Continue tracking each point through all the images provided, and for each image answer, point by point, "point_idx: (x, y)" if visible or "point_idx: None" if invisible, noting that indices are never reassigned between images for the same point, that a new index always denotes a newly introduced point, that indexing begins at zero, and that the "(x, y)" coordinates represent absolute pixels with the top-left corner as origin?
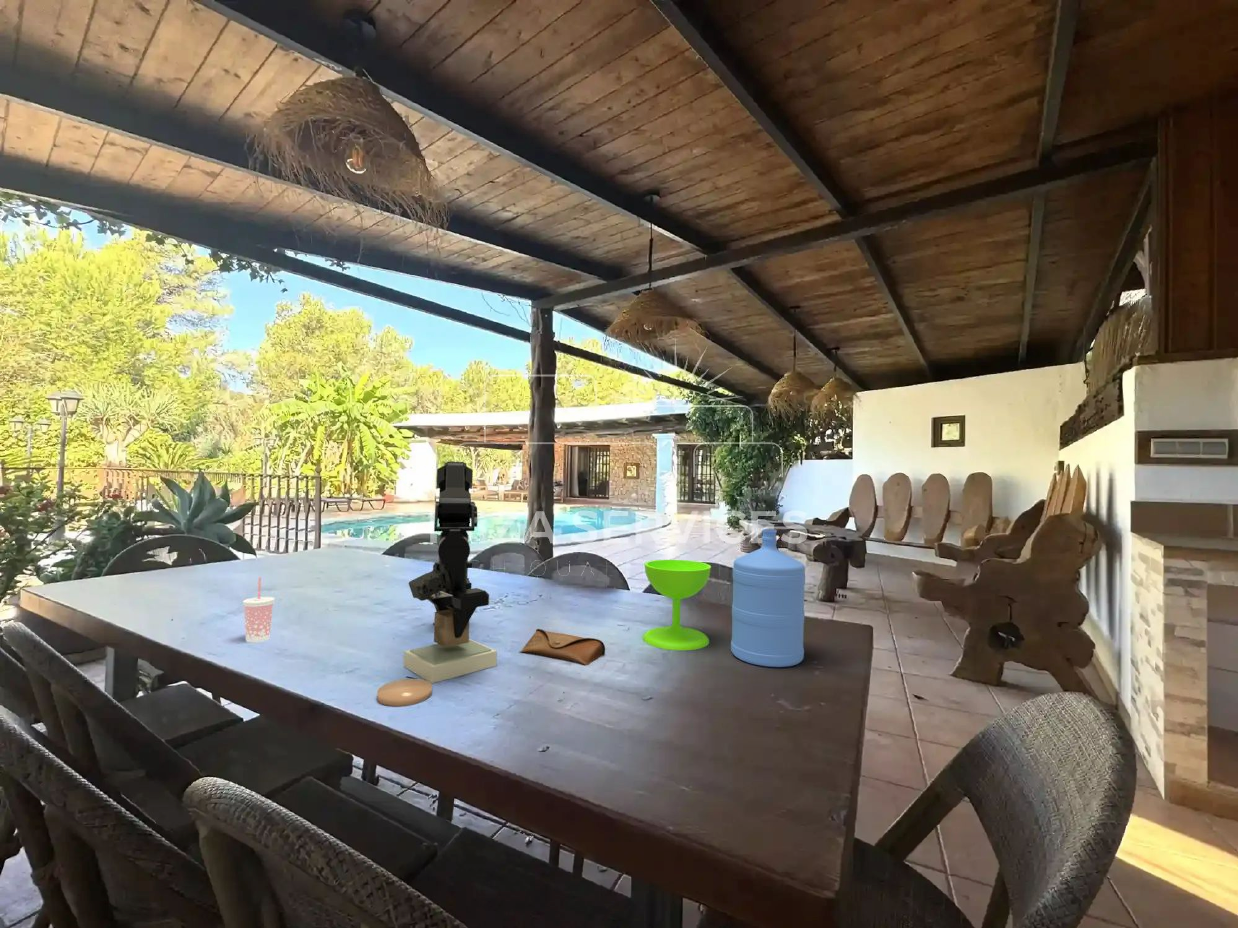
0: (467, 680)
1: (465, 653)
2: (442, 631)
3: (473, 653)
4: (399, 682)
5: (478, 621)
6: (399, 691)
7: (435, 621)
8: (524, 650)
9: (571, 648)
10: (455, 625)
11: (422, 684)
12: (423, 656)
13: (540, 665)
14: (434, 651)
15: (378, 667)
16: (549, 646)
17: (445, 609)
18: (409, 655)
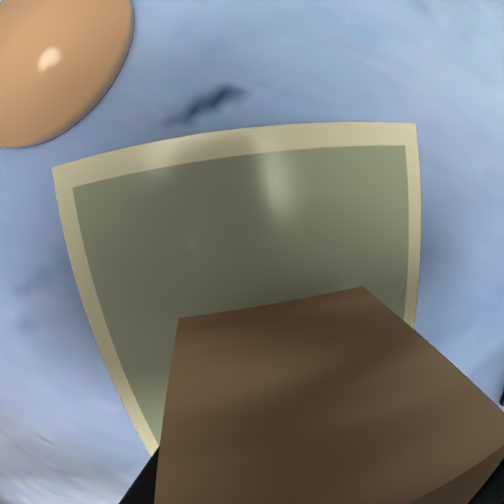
0: (57, 304)
1: (160, 386)
2: (255, 377)
3: (146, 410)
4: (99, 25)
5: None
6: (20, 26)
7: (440, 377)
8: None
9: None
10: (134, 493)
11: (21, 110)
12: (237, 164)
13: (120, 486)
14: (296, 259)
15: (405, 53)
16: None
17: (477, 498)
18: (352, 123)
